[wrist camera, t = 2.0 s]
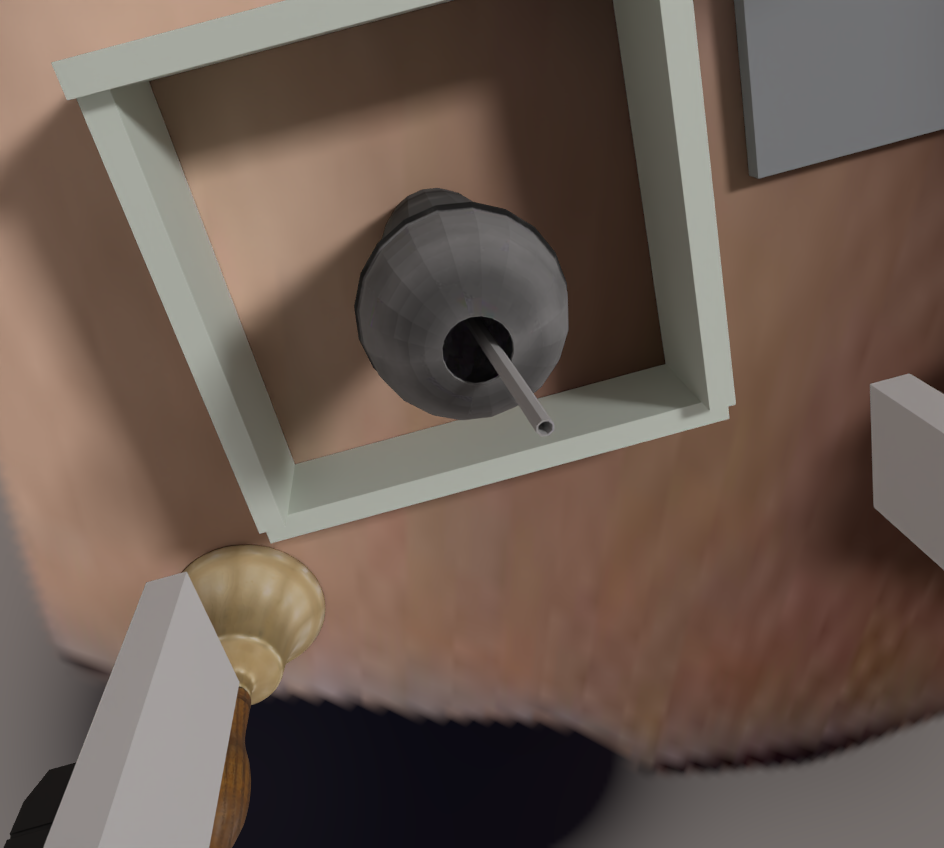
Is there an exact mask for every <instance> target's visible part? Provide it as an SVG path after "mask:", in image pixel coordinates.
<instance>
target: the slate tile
mask: <svg viewBox="0 0 944 848" xmlns="http://www.w3.org/2000/svg"><path fill="white" fill-rule="evenodd" d="M734 6H735V18H736V29H737V41H738V52H739V64H740V76H741V87H742V99H743V110H744V122H745V133H746V145H747V156H748V168H749V176H752V177H755V178H758V179H759V178H763V177H767V176H770V175H774V174H778V173H782V172H785V171H789V170H793V169H796V168H800V167H804V166H808V165H811V164H815V163H819V162H822V161H826V160H830V159H834V158H837V157H841V156H845V155H848V154H852V153H856V152H860V151H863V150H867V149H871V148H874V147H878V146H882V145H886V144H889V143H893V142H897V141H900V140H904V139H908V138H912V137H915V136H919V135H923V134H926V133H930V132H934V131H938V130H941V129H944V0H734Z"/></svg>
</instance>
